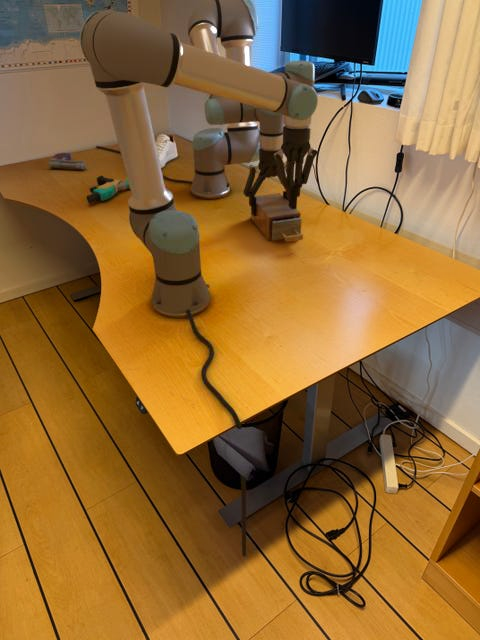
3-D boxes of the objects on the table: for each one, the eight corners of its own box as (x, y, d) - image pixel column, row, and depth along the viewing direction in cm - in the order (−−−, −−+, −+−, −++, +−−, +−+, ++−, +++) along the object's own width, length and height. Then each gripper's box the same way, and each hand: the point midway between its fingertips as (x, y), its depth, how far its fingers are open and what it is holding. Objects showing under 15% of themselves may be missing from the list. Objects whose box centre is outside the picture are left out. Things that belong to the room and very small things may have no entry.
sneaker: (133, 173, 208) (129, 144, 201) (161, 153, 230) (158, 127, 223) (155, 175, 205) (151, 146, 198) (180, 155, 227) (178, 129, 220)
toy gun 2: (64, 190, 179) (94, 197, 174) (109, 170, 198) (138, 176, 192) (66, 201, 182) (96, 209, 176) (111, 181, 200) (139, 187, 195)
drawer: (308, 244, 149) (309, 227, 146) (280, 249, 147) (280, 231, 144) (281, 216, 167) (281, 199, 164) (255, 219, 165) (255, 203, 161)
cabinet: (299, 235, 157) (300, 213, 152) (268, 240, 154) (269, 217, 150) (279, 214, 171) (279, 192, 166) (250, 218, 168) (250, 196, 164)
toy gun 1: (97, 161, 222) (82, 172, 210) (61, 159, 225) (44, 169, 213) (96, 153, 220) (81, 163, 208) (59, 151, 223) (42, 161, 211)
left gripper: (313, 120, 134) (307, 200, 148) (269, 124, 131) (267, 205, 145) (324, 126, 128) (317, 209, 142) (279, 131, 125) (276, 215, 139)
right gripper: (299, 141, 157) (296, 204, 170) (232, 148, 152) (234, 212, 165) (309, 147, 151) (304, 212, 164) (239, 154, 146) (240, 221, 159)
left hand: (292, 207), depth 144 cm, fingers closed
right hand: (269, 212), depth 164 cm, fingers closed on cabinet, 11 cm apart
